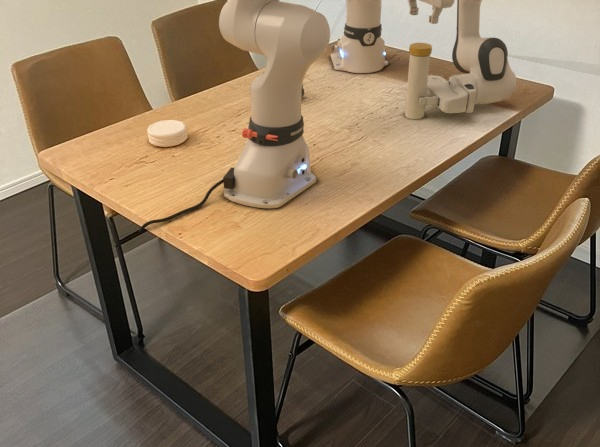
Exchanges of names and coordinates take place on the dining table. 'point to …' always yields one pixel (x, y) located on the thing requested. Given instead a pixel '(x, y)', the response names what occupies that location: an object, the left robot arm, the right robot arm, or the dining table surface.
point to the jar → (416, 85)
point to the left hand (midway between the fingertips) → (423, 18)
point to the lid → (420, 49)
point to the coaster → (167, 133)
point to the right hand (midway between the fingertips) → (413, 95)
